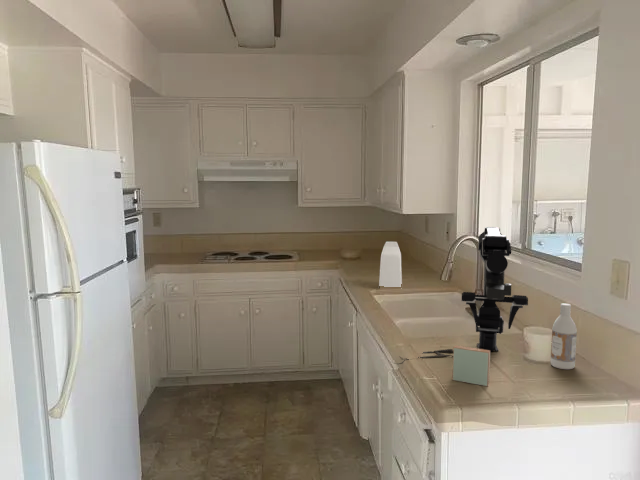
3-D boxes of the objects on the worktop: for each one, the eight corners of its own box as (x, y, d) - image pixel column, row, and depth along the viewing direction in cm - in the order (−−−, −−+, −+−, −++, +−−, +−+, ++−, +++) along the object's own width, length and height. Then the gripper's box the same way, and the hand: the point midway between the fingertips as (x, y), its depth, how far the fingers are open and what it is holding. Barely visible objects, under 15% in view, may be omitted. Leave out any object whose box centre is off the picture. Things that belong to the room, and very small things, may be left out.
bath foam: (545, 363, 157) (548, 302, 155) (560, 360, 160) (564, 300, 158) (563, 371, 151) (567, 307, 149) (579, 368, 154) (583, 305, 152)
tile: (453, 377, 146) (454, 345, 145) (488, 383, 141) (490, 350, 140) (452, 380, 144) (453, 347, 143) (487, 386, 139) (489, 352, 138)
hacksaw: (453, 352, 170) (453, 348, 170) (465, 359, 160) (465, 355, 160) (385, 357, 167) (385, 353, 167) (393, 365, 157) (393, 360, 157)
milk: (378, 289, 271) (379, 242, 268) (380, 285, 282) (381, 240, 279) (400, 290, 269) (401, 243, 266) (402, 286, 280) (402, 240, 277)
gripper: (462, 272, 144) (460, 325, 142) (531, 275, 139) (529, 331, 137) (462, 274, 155) (460, 324, 153) (526, 278, 149) (525, 330, 147)
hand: (492, 327), depth 147 cm, fingers open, 9 cm apart
